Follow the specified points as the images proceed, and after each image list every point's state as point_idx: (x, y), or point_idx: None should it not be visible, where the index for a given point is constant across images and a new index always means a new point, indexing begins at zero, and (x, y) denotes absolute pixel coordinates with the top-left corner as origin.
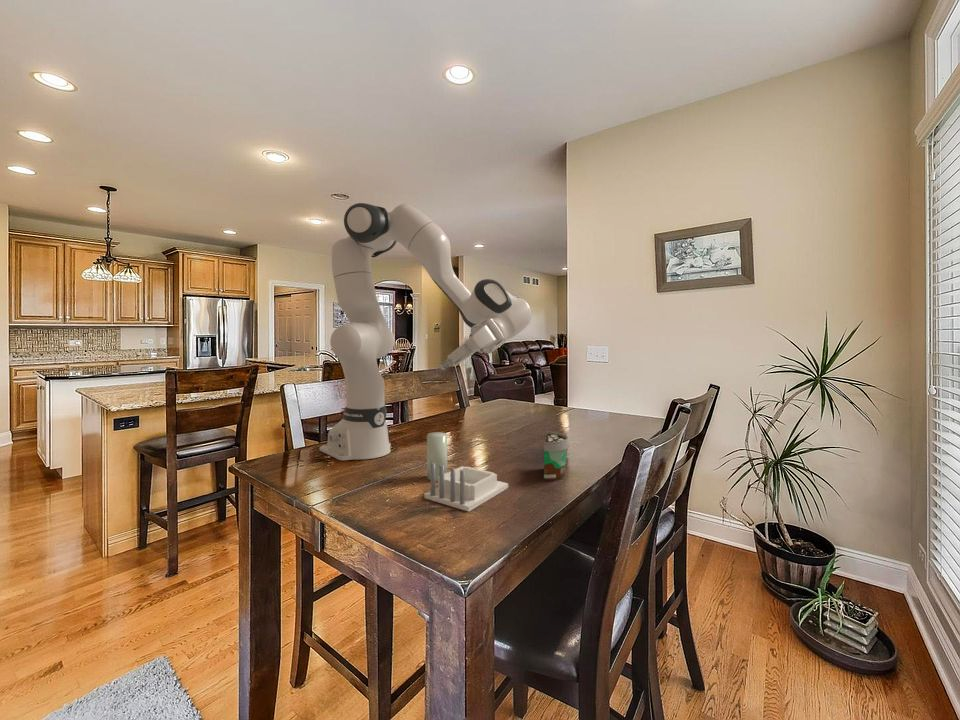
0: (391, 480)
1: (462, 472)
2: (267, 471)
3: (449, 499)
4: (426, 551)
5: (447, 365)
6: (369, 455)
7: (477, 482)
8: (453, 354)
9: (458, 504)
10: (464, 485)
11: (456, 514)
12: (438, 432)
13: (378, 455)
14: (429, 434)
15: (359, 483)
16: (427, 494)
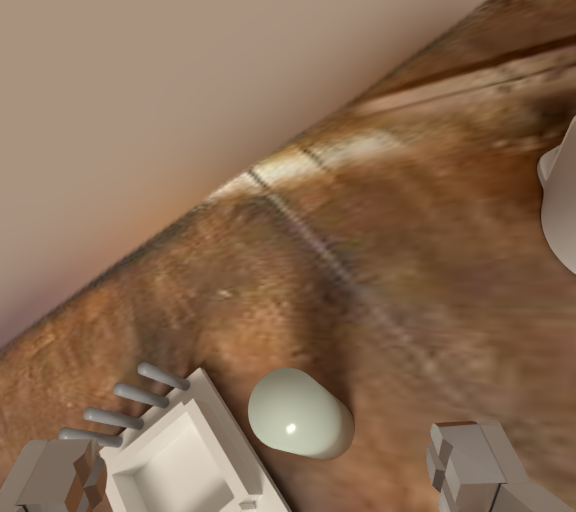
0: (338, 301)
1: (61, 432)
2: (468, 42)
3: (149, 418)
4: (32, 345)
5: (445, 505)
6: (549, 230)
7: (116, 494)
8: (18, 464)
9: (122, 433)
10: None
11: None
12: (316, 419)
13: (564, 258)
14: (295, 377)
15: (338, 231)
16: (193, 373)
